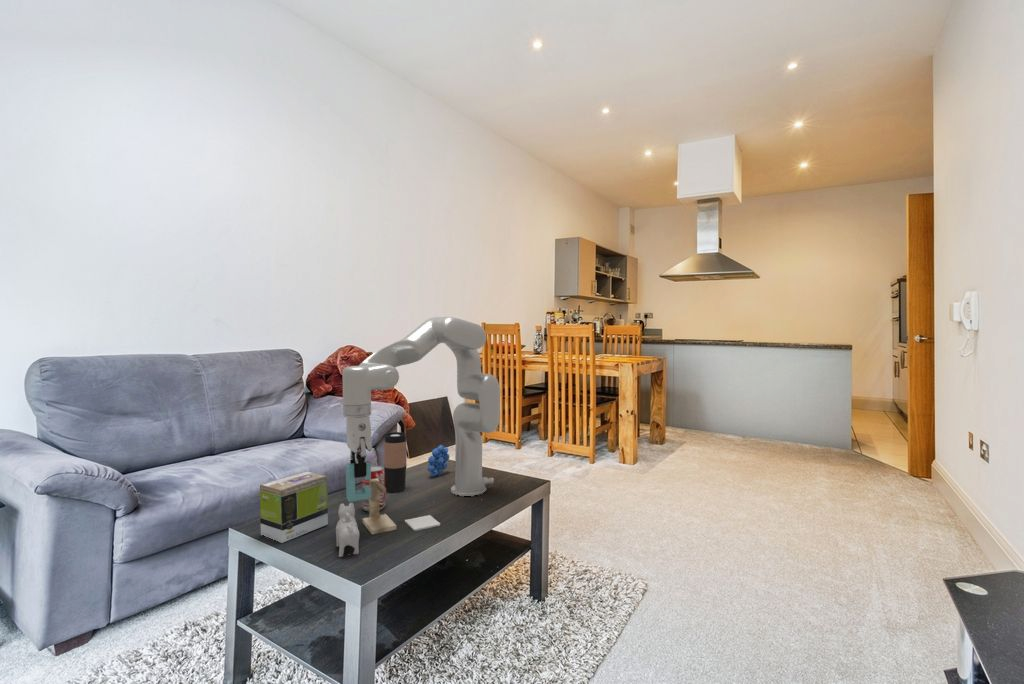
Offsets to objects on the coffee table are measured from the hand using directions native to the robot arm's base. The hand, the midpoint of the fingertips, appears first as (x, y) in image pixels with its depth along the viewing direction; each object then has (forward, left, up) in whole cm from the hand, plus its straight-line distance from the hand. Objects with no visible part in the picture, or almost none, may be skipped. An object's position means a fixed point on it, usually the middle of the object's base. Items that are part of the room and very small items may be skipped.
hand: (358, 474), depth 137 cm
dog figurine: (+5, +8, -17) cm, 19 cm away
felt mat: (-18, +3, -16) cm, 25 cm away
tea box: (+15, -10, -17) cm, 25 cm away
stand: (-6, -1, -16) cm, 18 cm away
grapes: (-41, -40, -17) cm, 60 cm away
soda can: (-9, -16, -17) cm, 25 cm away
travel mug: (-21, -31, -17) cm, 41 cm away
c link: (0, 0, -7) cm, 7 cm away
